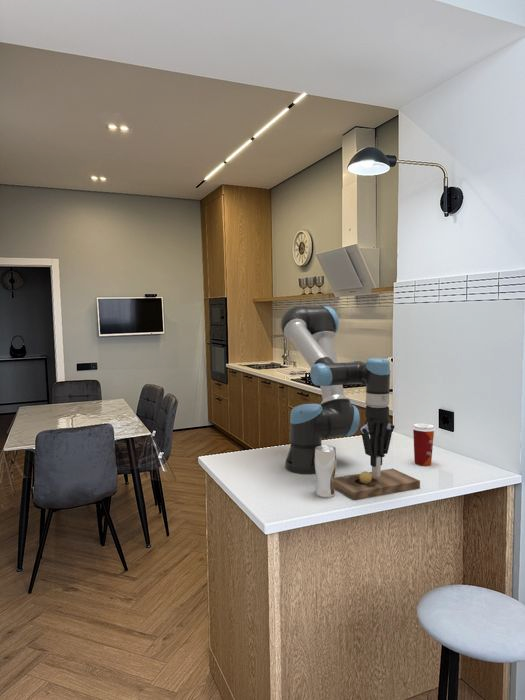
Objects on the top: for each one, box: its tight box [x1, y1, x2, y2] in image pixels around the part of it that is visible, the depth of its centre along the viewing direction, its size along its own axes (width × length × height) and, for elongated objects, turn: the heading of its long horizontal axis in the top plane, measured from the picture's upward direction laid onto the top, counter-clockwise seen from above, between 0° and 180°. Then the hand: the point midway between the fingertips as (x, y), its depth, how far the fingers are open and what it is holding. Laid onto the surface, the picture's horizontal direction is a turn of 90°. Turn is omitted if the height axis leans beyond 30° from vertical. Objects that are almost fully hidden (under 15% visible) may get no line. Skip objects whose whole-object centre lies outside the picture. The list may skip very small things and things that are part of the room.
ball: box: [359, 471, 372, 484], centre depth 161 cm, size 4×4×4 cm
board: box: [334, 468, 421, 501], centre depth 163 cm, size 26×14×2 cm, turn 114°
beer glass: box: [314, 444, 337, 499], centre depth 156 cm, size 7×7×15 cm
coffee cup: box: [412, 422, 436, 467], centre depth 188 cm, size 8×8×15 cm
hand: (376, 475), depth 163 cm, fingers closed
